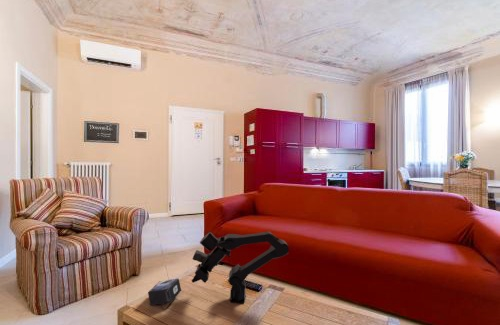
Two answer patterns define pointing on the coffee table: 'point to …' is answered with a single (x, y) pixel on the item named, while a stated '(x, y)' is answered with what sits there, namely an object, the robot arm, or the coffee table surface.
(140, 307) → the coffee table surface
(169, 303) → the stop rail
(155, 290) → the small box
